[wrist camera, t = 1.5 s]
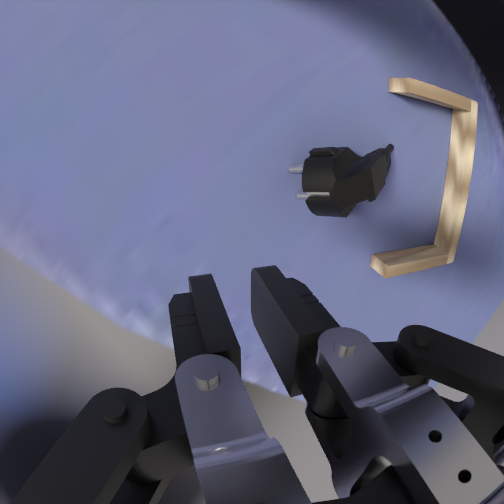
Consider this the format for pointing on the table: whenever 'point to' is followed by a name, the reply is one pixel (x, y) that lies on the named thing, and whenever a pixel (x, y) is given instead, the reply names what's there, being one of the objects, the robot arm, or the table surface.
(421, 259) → the bracket
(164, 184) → the table surface
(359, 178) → the power plug
